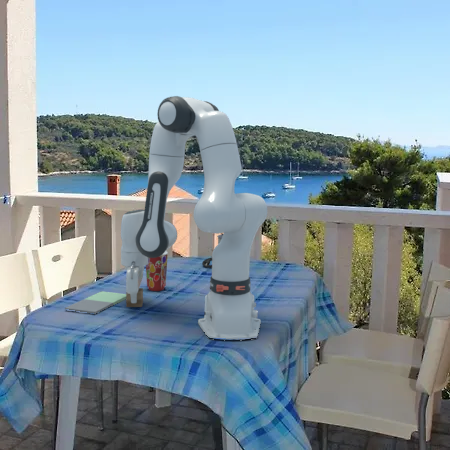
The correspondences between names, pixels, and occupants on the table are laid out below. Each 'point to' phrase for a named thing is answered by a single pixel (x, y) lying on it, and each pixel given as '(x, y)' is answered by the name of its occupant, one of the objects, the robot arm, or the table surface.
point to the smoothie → (157, 272)
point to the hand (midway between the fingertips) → (134, 299)
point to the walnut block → (139, 299)
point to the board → (97, 302)
